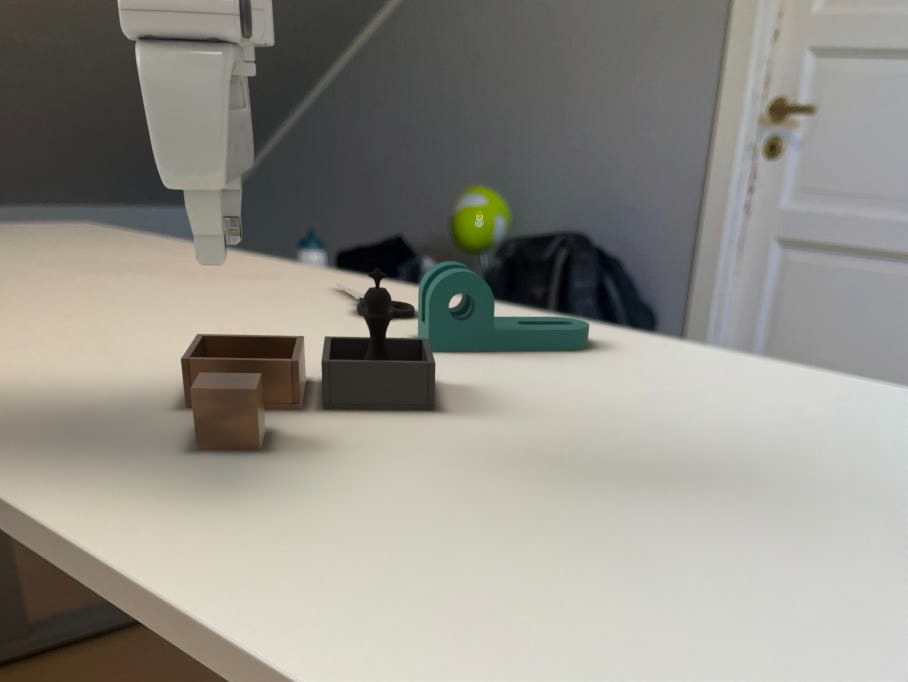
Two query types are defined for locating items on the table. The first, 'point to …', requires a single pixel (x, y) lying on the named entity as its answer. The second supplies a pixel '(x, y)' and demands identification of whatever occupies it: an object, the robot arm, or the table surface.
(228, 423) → the walnut block
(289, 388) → the brown bin
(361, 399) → the black bin
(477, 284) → the bracket
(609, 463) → the table surface
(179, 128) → the robot arm
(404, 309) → the scissors
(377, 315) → the chess piece
